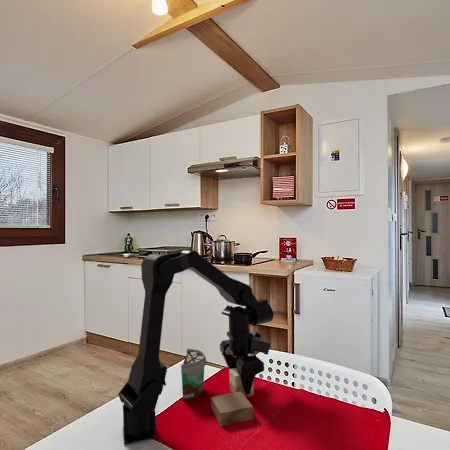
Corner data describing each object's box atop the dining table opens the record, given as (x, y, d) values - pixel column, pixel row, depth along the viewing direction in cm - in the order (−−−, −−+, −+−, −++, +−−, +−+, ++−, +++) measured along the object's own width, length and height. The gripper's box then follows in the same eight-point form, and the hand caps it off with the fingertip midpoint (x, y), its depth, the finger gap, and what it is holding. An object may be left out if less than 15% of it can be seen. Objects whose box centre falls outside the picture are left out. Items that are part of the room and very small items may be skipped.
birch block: (236, 399, 92) (235, 376, 92) (229, 390, 96) (229, 369, 96) (253, 395, 93) (252, 373, 93) (246, 387, 98) (246, 366, 98)
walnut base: (220, 426, 79) (220, 413, 79) (211, 409, 87) (210, 397, 87) (253, 419, 82) (252, 406, 82) (241, 402, 89) (240, 391, 89)
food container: (205, 403, 90) (204, 364, 90) (182, 404, 90) (180, 365, 90) (209, 381, 102) (208, 347, 102) (188, 382, 102) (187, 348, 102)
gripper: (282, 335, 88) (283, 396, 88) (253, 317, 106) (255, 368, 106) (241, 341, 85) (243, 405, 85) (218, 321, 103) (220, 374, 103)
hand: (241, 386), depth 95 cm, fingers open, 9 cm apart
